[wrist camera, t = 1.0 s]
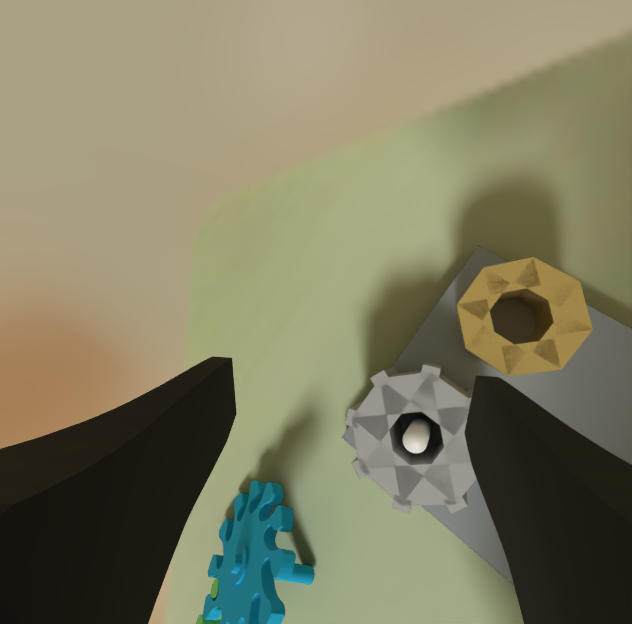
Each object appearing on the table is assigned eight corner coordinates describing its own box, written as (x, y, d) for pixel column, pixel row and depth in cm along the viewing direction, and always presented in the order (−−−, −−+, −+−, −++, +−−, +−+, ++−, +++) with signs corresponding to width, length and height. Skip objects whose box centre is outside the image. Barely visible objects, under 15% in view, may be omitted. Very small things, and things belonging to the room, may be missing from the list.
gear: (265, 445, 26) (285, 607, 17) (332, 466, 28) (379, 618, 20) (193, 544, 29) (178, 726, 20) (259, 556, 31) (272, 723, 23)
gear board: (745, 398, 19) (862, 416, 13) (559, 614, 21) (596, 707, 15) (474, 249, 24) (480, 218, 19) (344, 431, 26) (315, 452, 20)
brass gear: (586, 309, 21) (615, 300, 17) (524, 389, 21) (540, 397, 18) (494, 259, 22) (502, 240, 19) (440, 333, 23) (438, 330, 19)
